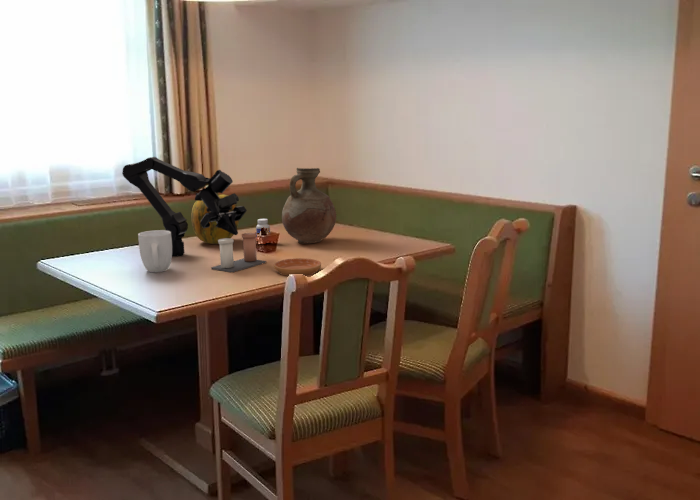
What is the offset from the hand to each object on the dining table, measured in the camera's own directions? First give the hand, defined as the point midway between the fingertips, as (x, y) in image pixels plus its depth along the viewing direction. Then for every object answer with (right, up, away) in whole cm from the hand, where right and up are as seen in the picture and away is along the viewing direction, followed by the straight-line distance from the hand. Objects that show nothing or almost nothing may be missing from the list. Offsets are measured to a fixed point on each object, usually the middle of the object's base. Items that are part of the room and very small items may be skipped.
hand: (236, 234), depth 264 cm
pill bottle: (+6, -3, +31) cm, 32 cm away
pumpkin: (-13, -3, +34) cm, 37 cm away
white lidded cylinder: (-2, -12, -11) cm, 16 cm away
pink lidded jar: (+5, -10, -2) cm, 11 cm away
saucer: (+23, -13, -15) cm, 31 cm away
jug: (+25, -3, +31) cm, 40 cm away
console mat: (+2, -11, -6) cm, 13 cm away
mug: (-26, -13, -11) cm, 31 cm away
